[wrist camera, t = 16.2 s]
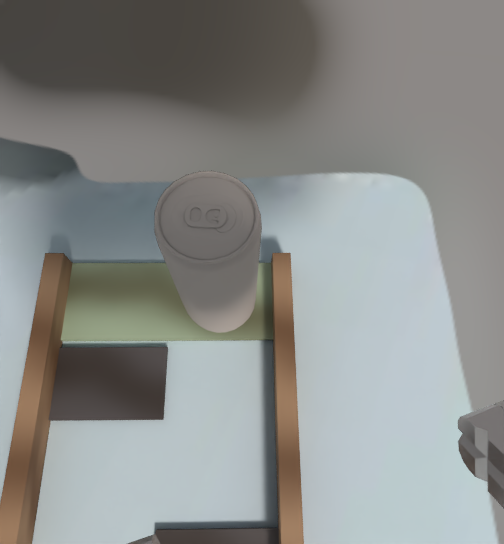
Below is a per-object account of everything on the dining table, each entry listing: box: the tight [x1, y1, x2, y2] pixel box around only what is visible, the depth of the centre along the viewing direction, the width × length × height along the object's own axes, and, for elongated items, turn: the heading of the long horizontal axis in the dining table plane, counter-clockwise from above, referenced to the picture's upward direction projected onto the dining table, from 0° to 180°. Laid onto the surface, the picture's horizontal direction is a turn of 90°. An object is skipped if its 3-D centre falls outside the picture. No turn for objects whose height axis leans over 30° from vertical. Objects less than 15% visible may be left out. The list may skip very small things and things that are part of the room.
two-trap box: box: [0, 253, 304, 544], centre depth 26 cm, size 27×16×2 cm, turn 1°
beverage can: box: [155, 171, 262, 333], centre depth 25 cm, size 5×5×12 cm
